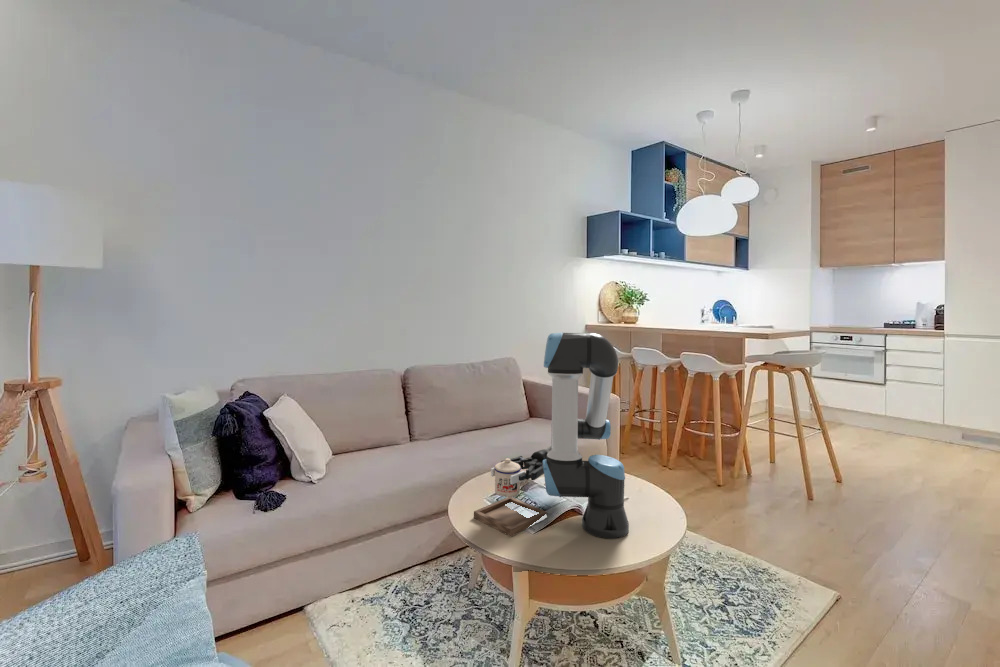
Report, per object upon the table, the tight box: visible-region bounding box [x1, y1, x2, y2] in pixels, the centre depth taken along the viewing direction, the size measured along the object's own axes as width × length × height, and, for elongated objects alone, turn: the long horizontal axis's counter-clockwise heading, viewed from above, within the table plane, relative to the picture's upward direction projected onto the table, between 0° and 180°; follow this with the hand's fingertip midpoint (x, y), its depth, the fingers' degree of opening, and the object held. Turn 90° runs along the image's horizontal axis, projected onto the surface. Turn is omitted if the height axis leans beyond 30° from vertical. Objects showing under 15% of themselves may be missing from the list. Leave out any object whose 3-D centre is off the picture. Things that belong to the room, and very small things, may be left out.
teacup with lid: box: [493, 457, 530, 498], centre depth 161 cm, size 12×9×12 cm
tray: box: [473, 496, 548, 537], centre depth 162 cm, size 18×18×2 cm
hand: (501, 476), depth 158 cm, fingers closed on teacup with lid, 8 cm apart
